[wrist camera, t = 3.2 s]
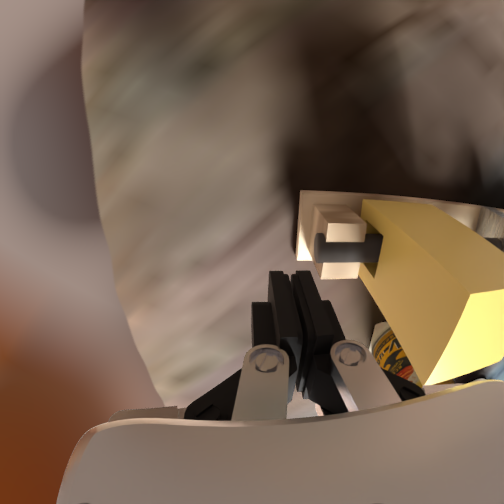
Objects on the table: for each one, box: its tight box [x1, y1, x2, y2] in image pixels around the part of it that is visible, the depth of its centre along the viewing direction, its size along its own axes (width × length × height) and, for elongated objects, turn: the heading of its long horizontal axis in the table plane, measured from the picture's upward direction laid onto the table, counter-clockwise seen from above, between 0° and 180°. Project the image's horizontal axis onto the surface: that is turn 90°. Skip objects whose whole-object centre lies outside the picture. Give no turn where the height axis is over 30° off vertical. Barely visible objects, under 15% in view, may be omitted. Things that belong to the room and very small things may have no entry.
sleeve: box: [358, 199, 504, 386], centre depth 14 cm, size 6×5×11 cm
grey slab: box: [475, 206, 504, 252], centre depth 17 cm, size 2×5×6 cm, turn 179°
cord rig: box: [295, 190, 504, 279], centre depth 18 cm, size 24×5×5 cm, turn 89°
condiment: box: [369, 322, 455, 388], centre depth 21 cm, size 7×8×12 cm
